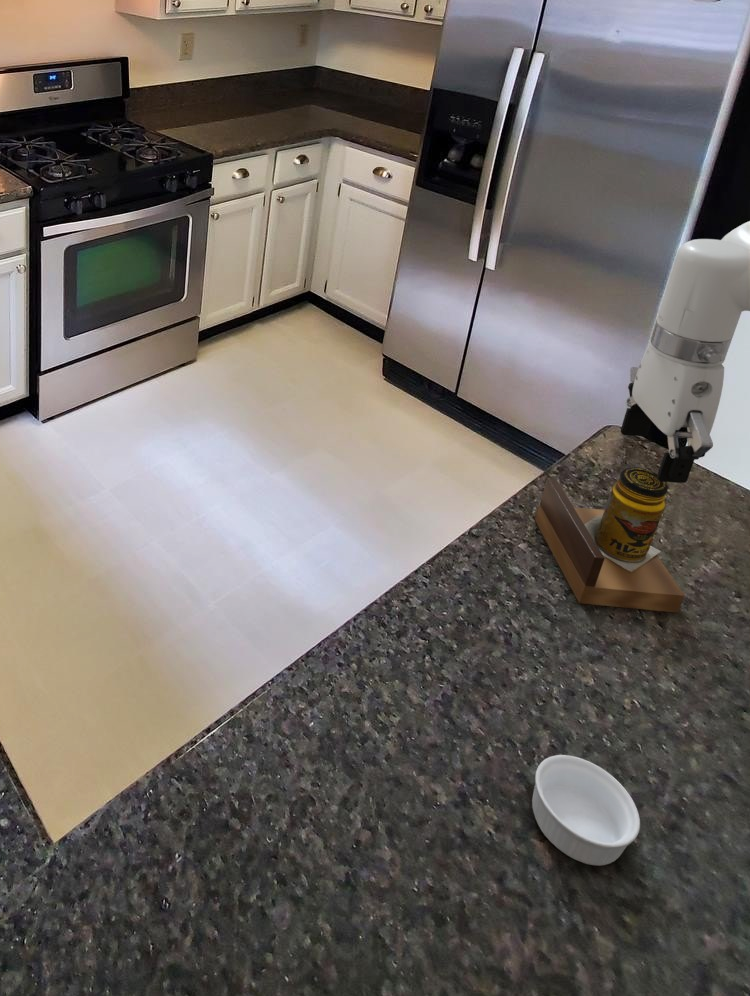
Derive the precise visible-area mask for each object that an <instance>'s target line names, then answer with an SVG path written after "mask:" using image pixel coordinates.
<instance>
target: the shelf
mask: <svg viewBox="0 0 750 996" xmlns="http://www.w3.org/2000/svg"><path fill="white" fill-rule="evenodd" d="M604 510H605V509H599V508H587V507H575V506H574V505H573V504H572V501H570V499H569V497H568V496H567V494H566V492H565V490H564V489H563V487H562V486H561V484H560V482H559V481H558V479H557V478H555V477H547V478H546V481H545V485H544V488H543V491H542V496H541V498H540V501H539V505H538V508H537V511H536V514H535V519H534V521H535V524H536V525H537V527H538V529H539V531H540V533H541V534H542V536H543V539H544V540H545V542H546V544H547V546H548V547H549V550H550V552H551V553H552V555H553V558H554V559H555V561H556V563H557V564H558V566H559V568H560V570H561V572H562V574H563V576H564V578H565V579H566V581H567V583H568V585H569V587H570V589H571V591H572V593H573V594H574V596H575V598H576V600H577V602H578V604H583V605H593V606H602V607H603V606H605V607H614V608H623V609H624V608H625V609H635V610H636V609H637V610H645V611H657V612H666V613H677V614H678V613H679V612H680V609H681V607H682V605H683V602H684V600H685V597H686V595H685V594H684V592H683V591H682V589H681V588H680V586H679V585H678V583H677V582H676V581H675V579H674V578H673V576H672V574H670V572H669V570H668V569H667V567H666V566H665V565H664V563H663V562H662V561H661V559H660V557H659V556H658V554H657V555H655V556H654V557H653V558H651V559H650V560H649V561H647V562H646V563H644V564H643V565H641V566H640V567H638V568H637V569H635V570H634V571H632V572H631V571H628V570H626V569H624V568H623V567H621V566H620V565H618V564H616V563H615V562H613V561H612V560H610V559H609V558H607V557H605V556H604V555H603V554H602V553H601V551H600V550H599V548H598V546H597V545H596V543H595V541H594V540H593V538H592V536H591V535H590V533H589V532H588V530H587V528H586V527H585V525H584V524H586V523H587V522H589V521H590V520H592V519H593V518H595V517H596V516H598V515H601V516H603V513H604Z"/></svg>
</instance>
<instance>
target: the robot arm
mask: <svg viewBox="0 0 750 996" xmlns="http://www.w3.org/2000/svg"><path fill="white" fill-rule="evenodd" d="M665 286H666V287H665V290H664V293H663V296H662V300H661V302H660V306H659V309H658V312H657V316H656V320H655V324H654V326H653V330H652V333H651V336H650V339H649V342H648V345H647V347H646V350H645V351H644V354H643V356H642V359H641V361H640V364H639V366H638V367H637V366H635V367H634V366H632V367H631V368H630V370H629V371H630V373H629V374H630V375H629V376H630V377H629V380H630V381H629V384H628V386H627V389H628V392H629V393H628V394H629V397H628V398H627V399H626V406H627V408H626V411H625V414H624V417H623V420H622V424H621V427H620V429H619V430H620V433H621V434H622V435H623V436H632V437H647V436H648V435H649V432H650V429H651V425H652V423H653V424H654V426H656V428H657V429H658V430H659V431H661V432H662V434H664V435H665V436H666V437H667V438H666V439H667V445H668V452H663V453H664V454H663V456H662V460H661V463H660V465H659V468H658V471H657V473H656V474H657V479H658V480H659V481H661V482H666V483H675V484H676V483H678V484H684V483H686V482H688V479H689V478H690V477H689V476H690V474H691V471H692V468H693V465H694V463H695V460H699V459H700V458H704V457H705V456H706V453H708V452H709V451H711V449H712V448H713V447H714V442H713V439H712V437H711V435H710V434H711V432H712V429H713V426H714V423H715V420H716V417H717V413H718V409H719V406H720V401H721V398H722V392H723V387H724V380H725V367H724V365H723V363H724V362H725V361H726V357H727V354H728V353H729V349H730V346H731V344H732V341H733V338H734V336H735V333H736V329H737V326H738V324H739V321H740V317H741V315H742V312H750V220H749V221H747V222H744V223H742V224H741V225H739V226H737V227H736V228H734V229H732V230H731V231H730V232H728V233H726V234H725V235H724V236H723V237H722V238H721V239H715V238H697V239H691V240H689V241H686V242H684V243H683V244H682V245H681V246H679V248H678V250H677V252H676V255H675V257H674V260H673V264H672V266H671V270H670V274H669V276H668V279H667V283H666V285H665ZM681 428H686V431H680V430H681ZM679 438H683V439H686V442H687V445H684V446H681V447H680V446H679V445H680V443H679Z"/></svg>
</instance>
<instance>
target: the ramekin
mask: <svg viewBox="0 0 750 996" xmlns="http://www.w3.org/2000/svg"><path fill="white" fill-rule="evenodd" d="M531 807H532V811H533V816H534V819H535V821H536V824H537V825H538V828H539V830H541V832H542V833H543V835H544V837H546V839H547V840H548V841H549V842H550V843H551V844H552V845H553V846H555V848H557V849H558V850H559V851H561V852H562V853H563V854H565V855H566V856H568V857H569V858H571V859H573V860H575V861H577V862H580V863H583V864H586V865H590V866H607V865H610V864H612V863H614V862H615V861H616V860H617V859H619V858H620V857H621V856H622V854H623V853H624V851H625V849H626V848H627V847H628V846H629V845H631V844H632V843H633V842H634V841H635V840H636V838H637V837H638V836H639V833H640V829H641V819H640V815H639V814H640V813H639V811H638V808H637V805H636V803H635V801H634V800H633V798H632V796H631V795H630V793H629V792H628V791H627V789H626V788H625V787H624V786H623V785H622V784H621V783H620V782H619V780H617V779H616V778H615V777H614V776H613V775H612V774H611V773H609V772H608V771H607V770H605V769H604V768H602V767H601V766H599V765H597V764H595V763H593V762H591V761H589V760H586V759H585V758H582V757H578V756H574V755H568V754H557V755H552V756H548V757H547V758H544V759H543V760H542V761H541V762H540V763H539V764H538V766H537V768H536V771H535V777H534V789H533V794H532V799H531Z"/></svg>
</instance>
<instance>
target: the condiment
mask: <svg viewBox="0 0 750 996" xmlns="http://www.w3.org/2000/svg"><path fill="white" fill-rule="evenodd" d="M657 474H658V473H656V472H654V471H653V470H649V469H648V468H643V467H635V466H633V467H626V468H624V469H622V470H621V472H620V474H619V478H618V479H617V481H616V483H614V484H613V486H612V487H611V490H610V493H609V496H608V499H607V502H606V505H605V508H604V509H603V510H604V513H603V516H601V515H598V516H596V517H595V518H593V519H592V520H590V521H589V522H587V523H586V524H584V525H585V527H586V528H587V530H588V532H589V533H590V535H591V536H592V538H593V540H594V541H595V543H596V545H597V546H598V548H599V550H600V551H601V553H602V554H603V555H604V556H605V557H607V558H609V559H610V560H612V561H613V562H615V563H616V564H618V565H620V566H621V567H623V568H624V569H626V570H628V571H631V572H632V571H634V570H635V569H637V568H638V567H640V566H641V565H643V564H644V563H646V562H647V561H649V560H650V559H651V558H653V557H654V556H655V555H657V556H658V554H659V553H661V552H662V551H661V550H659V549H658V548H656V547H654V546H652V544H653V539H654V537H655V535H656V532H657V530H658V526H659V524H660V521H661V518H662V516H663V514H664V511H665V509H666V503H665V500H666V494H667V492H668V488H669V487H668V482H661V481H659V480H658V479H657Z"/></svg>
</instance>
